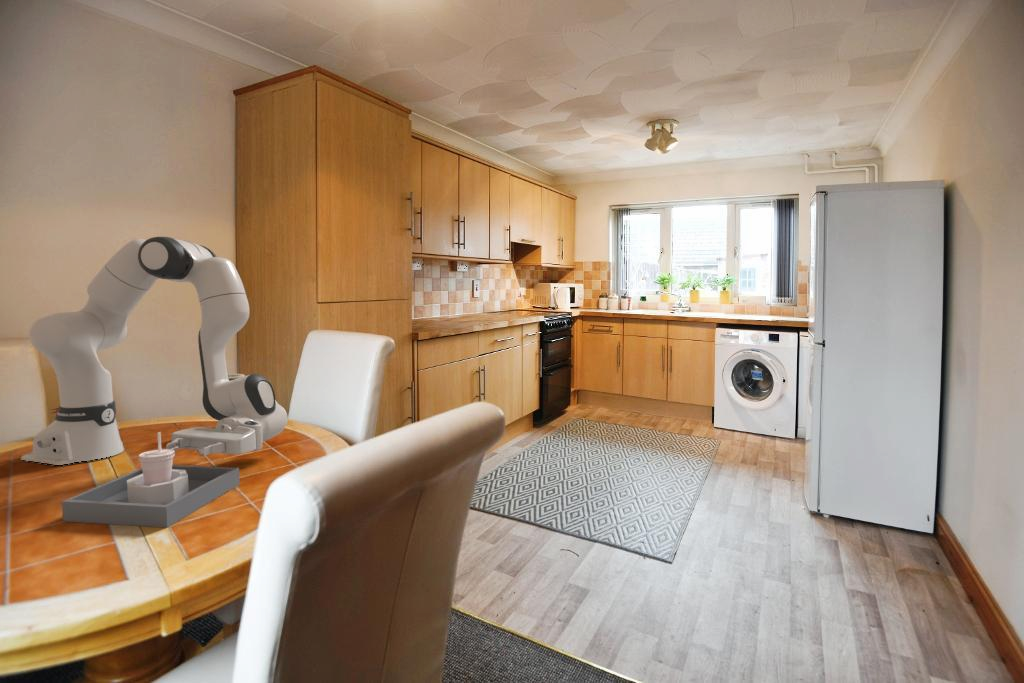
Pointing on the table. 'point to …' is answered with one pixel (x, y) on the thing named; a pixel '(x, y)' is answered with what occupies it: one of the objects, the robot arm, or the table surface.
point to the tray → (149, 513)
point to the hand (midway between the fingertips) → (185, 450)
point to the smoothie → (157, 464)
